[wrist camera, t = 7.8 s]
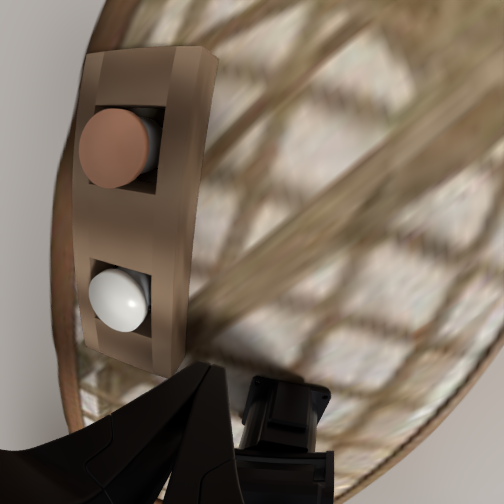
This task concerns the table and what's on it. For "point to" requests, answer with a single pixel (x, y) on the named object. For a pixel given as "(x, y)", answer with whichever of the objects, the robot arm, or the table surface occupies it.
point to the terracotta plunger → (119, 147)
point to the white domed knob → (121, 297)
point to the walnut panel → (144, 198)
